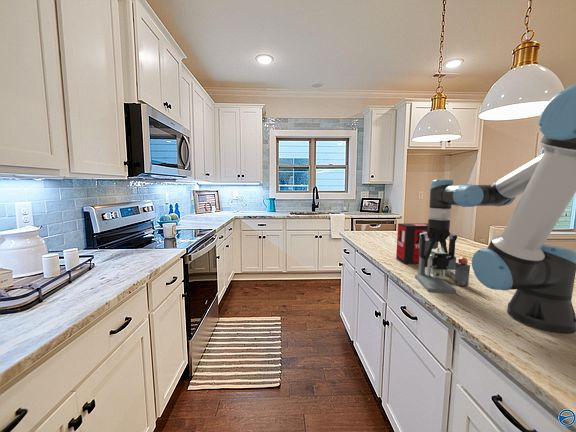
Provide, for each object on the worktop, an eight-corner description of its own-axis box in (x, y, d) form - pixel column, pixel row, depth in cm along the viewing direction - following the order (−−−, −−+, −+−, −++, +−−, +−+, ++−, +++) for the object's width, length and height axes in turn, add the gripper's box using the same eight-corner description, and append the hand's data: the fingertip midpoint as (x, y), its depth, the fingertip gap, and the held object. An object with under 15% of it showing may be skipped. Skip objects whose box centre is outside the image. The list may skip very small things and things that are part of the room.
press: (479, 294, 95) (483, 250, 93) (427, 291, 98) (430, 248, 96) (450, 273, 118) (453, 237, 116) (409, 271, 121) (411, 236, 119)
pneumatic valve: (436, 272, 110) (438, 245, 108) (447, 282, 98) (450, 252, 97) (422, 271, 111) (424, 244, 109) (432, 281, 99) (434, 251, 98)
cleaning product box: (404, 264, 133) (406, 226, 130) (396, 259, 141) (398, 223, 139) (434, 263, 134) (437, 225, 131) (424, 258, 142) (427, 223, 140)
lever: (468, 286, 103) (470, 258, 101) (458, 285, 103) (461, 258, 102) (446, 270, 122) (448, 247, 121) (438, 269, 123) (440, 246, 121)
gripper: (459, 218, 104) (454, 273, 107) (411, 216, 107) (408, 270, 109) (469, 220, 96) (463, 280, 99) (417, 219, 99) (413, 276, 102)
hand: (434, 275), depth 104 cm, fingers closed on pneumatic valve, 5 cm apart
